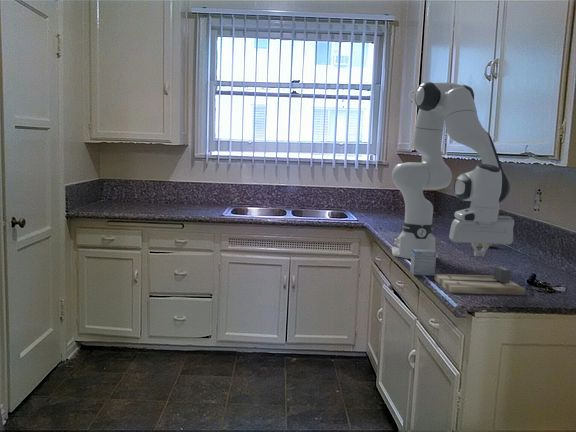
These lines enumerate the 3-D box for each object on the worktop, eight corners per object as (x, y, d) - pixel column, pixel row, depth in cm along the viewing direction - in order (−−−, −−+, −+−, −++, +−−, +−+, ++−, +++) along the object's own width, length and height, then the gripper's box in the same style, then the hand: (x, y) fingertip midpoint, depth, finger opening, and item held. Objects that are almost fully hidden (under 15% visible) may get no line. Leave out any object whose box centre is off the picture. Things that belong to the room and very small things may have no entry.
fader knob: (493, 278, 173) (495, 266, 172) (502, 278, 173) (503, 266, 172) (500, 282, 168) (501, 269, 167) (509, 282, 168) (510, 270, 167)
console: (433, 279, 178) (434, 273, 177) (501, 281, 179) (502, 275, 179) (450, 292, 162) (450, 286, 162) (524, 294, 163) (525, 288, 163)
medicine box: (431, 273, 187) (433, 249, 186) (434, 276, 182) (437, 252, 181) (409, 272, 187) (411, 248, 185) (413, 275, 182) (414, 251, 181)
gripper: (510, 214, 171) (505, 255, 173) (449, 212, 170) (445, 252, 172) (519, 217, 165) (514, 259, 167) (456, 215, 164) (452, 257, 166)
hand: (478, 256), depth 170 cm, fingers closed
